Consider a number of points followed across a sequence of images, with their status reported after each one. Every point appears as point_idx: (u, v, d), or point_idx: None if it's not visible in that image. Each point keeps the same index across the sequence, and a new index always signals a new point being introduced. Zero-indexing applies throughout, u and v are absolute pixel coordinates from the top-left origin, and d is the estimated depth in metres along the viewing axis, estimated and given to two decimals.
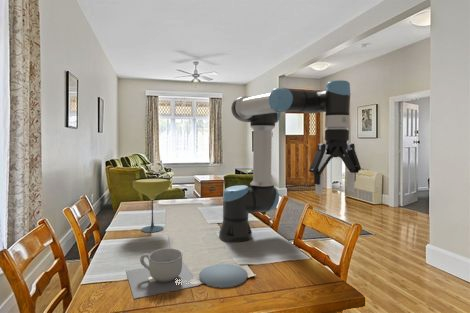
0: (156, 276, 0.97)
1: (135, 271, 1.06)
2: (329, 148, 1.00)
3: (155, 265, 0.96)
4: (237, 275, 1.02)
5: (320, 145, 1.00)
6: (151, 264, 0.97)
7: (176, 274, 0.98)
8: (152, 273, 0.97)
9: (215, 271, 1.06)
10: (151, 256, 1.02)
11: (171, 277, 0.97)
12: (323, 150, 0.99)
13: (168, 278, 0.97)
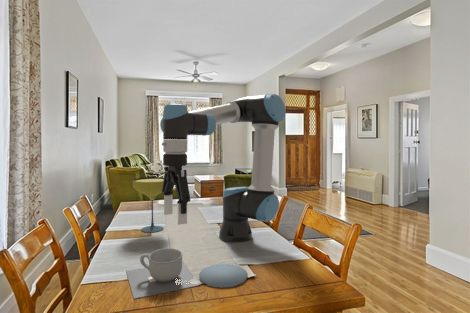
0: (156, 276, 0.97)
1: (135, 271, 1.06)
2: None
3: (155, 265, 0.96)
4: (237, 275, 1.02)
5: None
6: (151, 264, 0.97)
7: (176, 274, 0.98)
8: (152, 273, 0.97)
9: (215, 271, 1.06)
10: (151, 256, 1.02)
11: (171, 277, 0.97)
12: (165, 172, 1.05)
13: (168, 278, 0.97)
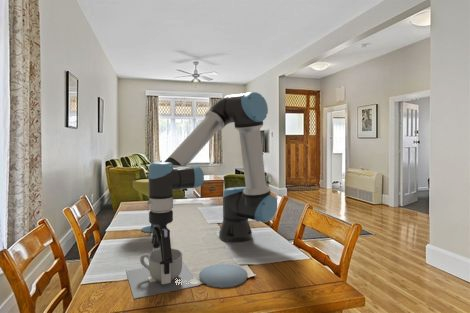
0: (156, 276, 0.97)
1: (135, 271, 1.06)
2: None
3: (155, 265, 0.96)
4: (237, 275, 1.02)
5: None
6: (151, 264, 0.97)
7: (176, 274, 0.98)
8: (152, 273, 0.97)
9: (215, 271, 1.06)
10: (151, 256, 1.02)
11: (171, 277, 0.97)
12: (153, 226, 1.06)
13: None
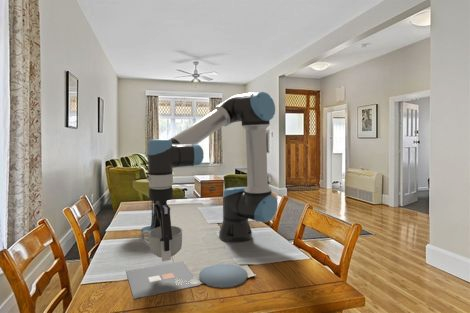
0: (156, 251, 0.97)
1: (135, 271, 1.06)
2: None
3: (155, 241, 0.97)
4: (237, 275, 1.02)
5: None
6: (151, 240, 0.98)
7: (176, 249, 0.99)
8: (152, 249, 0.98)
9: (215, 271, 1.06)
10: (151, 233, 1.02)
11: (171, 252, 0.98)
12: None
13: None
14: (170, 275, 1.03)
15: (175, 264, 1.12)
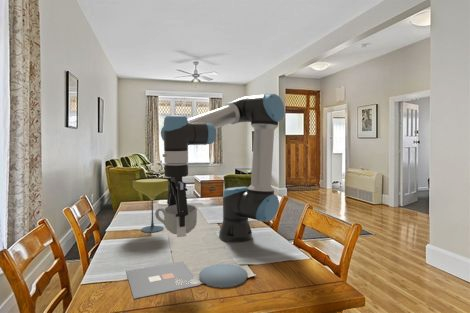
0: (171, 228, 0.97)
1: (135, 271, 1.06)
2: None
3: (170, 217, 0.97)
4: (237, 275, 1.02)
5: None
6: (166, 216, 0.98)
7: (191, 226, 0.99)
8: (167, 225, 0.98)
9: (215, 271, 1.06)
10: (166, 210, 1.02)
11: (186, 229, 0.98)
12: (168, 184, 1.06)
13: None
14: (170, 275, 1.03)
15: (175, 264, 1.12)
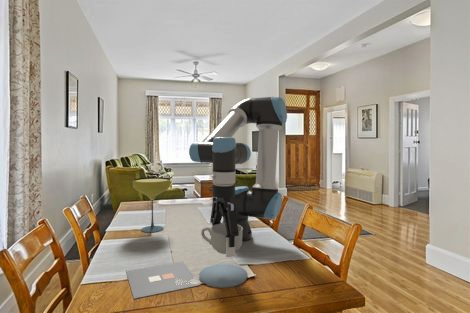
0: (220, 247, 0.99)
1: (135, 271, 1.06)
2: None
3: (219, 237, 0.98)
4: (237, 275, 1.02)
5: None
6: (215, 236, 0.99)
7: (238, 246, 1.00)
8: (216, 245, 0.99)
9: (215, 271, 1.06)
10: (212, 229, 1.04)
11: None
12: (213, 203, 1.07)
13: None
14: (170, 275, 1.03)
15: (175, 264, 1.12)
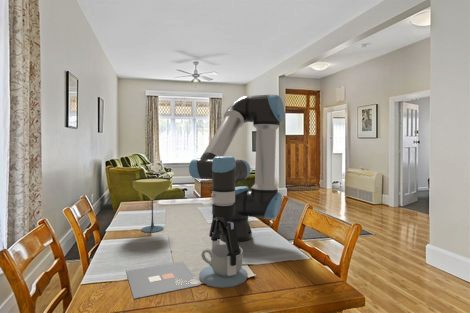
0: (220, 271, 1.00)
1: (135, 271, 1.06)
2: None
3: (219, 260, 0.99)
4: (237, 275, 1.02)
5: None
6: (215, 259, 1.00)
7: (238, 269, 1.01)
8: (216, 268, 1.00)
9: None
10: (212, 251, 1.05)
11: None
12: (213, 219, 1.08)
13: None
14: (170, 275, 1.03)
15: (175, 264, 1.12)
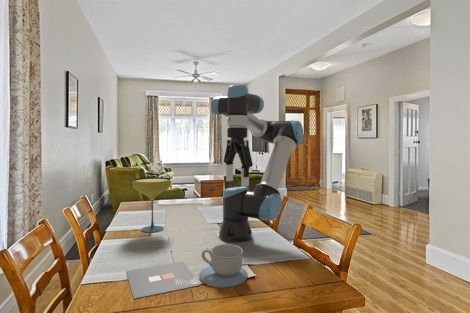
0: (220, 271, 1.00)
1: (135, 271, 1.06)
2: (230, 143, 1.20)
3: (219, 260, 0.99)
4: (237, 275, 1.02)
5: None
6: (215, 259, 1.00)
7: (238, 269, 1.01)
8: (216, 268, 1.00)
9: None
10: (212, 251, 1.05)
11: (234, 272, 1.00)
12: (227, 145, 1.23)
13: (231, 272, 1.00)
14: (170, 275, 1.03)
15: (175, 264, 1.12)
